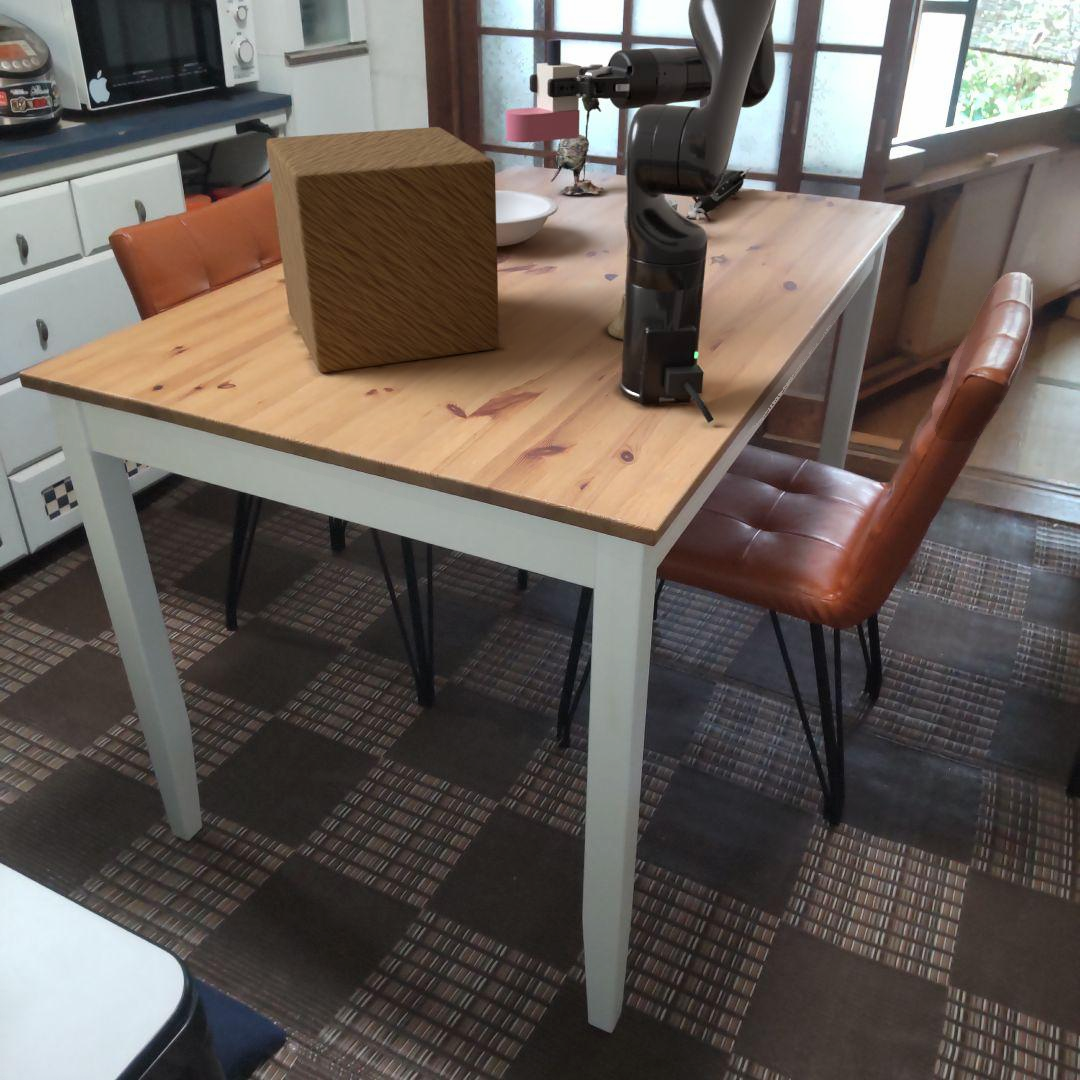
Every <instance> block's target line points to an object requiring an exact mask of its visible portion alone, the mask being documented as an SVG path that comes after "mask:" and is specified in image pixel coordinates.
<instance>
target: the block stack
mask: <svg viewBox="0 0 1080 1080" xmlns="http://www.w3.org/2000/svg"><path fill="white" fill-rule="evenodd" d="M579 66H580V64H579V65H578V64H573V63H570V62H564V61H562V39H559V38H550V39H547V40H546V62H542V63H541V62H540V63H536V74H537V93H536V106H533V107H522V108H513V109H507V110H506V111H505V140H507V141H508V142H513V143H537V142H548V141H549V142H550V141H557V140H558V141H560V139H569V138H579V135H580V114H581V113H580V112H581V111H580V109H579V101H580V100H579V99H580V98H578V97H575V93H574V96H566V97H554V98H553V97H549V96H548V93H547V89H548V80H549V79H557V78H571V77H573V78H574V81H575V77H577V76H579Z"/></svg>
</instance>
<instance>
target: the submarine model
mask: <svg viewBox="0 0 1080 1080" xmlns="http://www.w3.org/2000/svg"><path fill="white" fill-rule="evenodd" d="M750 170H751V167H750V168H748V169H746V170H745V171H744V170H740V171H736V170H732V171H729V172H727V174H726V173H725V174H724V177H723V179H722V181H721V183H720V185H719V187H718V188H717V190H716V191H715V192H714V193H713V194H712V195H710V196H708V197H691V198H692V199H693V201H694V203H693V202H692V201H690V202H689V204H688V207H689V209H690V211H688V212H687V216H685V217H686V218H688V219H689V217H692V216H694V215H695V220H696V221H697V220H699V219H700V214H703V215H704V217H705V218H706V219H707V221H708V222H712V221H713V220H712V218H711V216H710V215H709V214H708V213H709V212H711V211H712V212H713V210H715V209H717V208H718V207H721V205H722V204H724V203H725V202H726V201H728V200H729V199H730V198H731V197H734V198H735V200H737V199H738V197H737V194H736V193H738V192H739V191H740V190H741V189H742V187H743V185H744V182H745V180H744V179H745V178H746V174H747V173H748V172H749V171H750Z"/></svg>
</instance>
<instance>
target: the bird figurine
mask: <svg viewBox="0 0 1080 1080" xmlns="http://www.w3.org/2000/svg"><path fill="white" fill-rule="evenodd" d="M581 102H582V105H583V107H584V110H585V111H586V124H585V135H582V134H579V138H569V139H559V142H558V145H557V146H558V147H557V150H556V155H555V161H556V165H557V166H558V168H557V169H556V171H555V173H554V174H553V176H552V177H551V178H550V183H553V182H554V180H556V178H557V177H558V175H559V174H560V172H561V171H562V169H565V170H569V171H571V172H572V173H573V180H574V184H573V185H568V186H566V187H565V188H564V189H563V191H562V192H561V194H562V195H568V196H569V195H570V196H571V195H582V194H584V193H585V194H589V193H590V194H594V195H598V194H599V193H600V192H601V191H603V190H604V187H602V186H601V187H599V186H597V185H596V184H594V183H592V180H591V179H585V176H586V162H587V161H586V160H587V159H586V158H587V157H588V152H589V148H590V142H589V138H588V129H589V120H590V112H592V111H593V110H594V111H595V110H598V112H600V113H601V112H602V109H601V107H600V101H599V98H598V99H588V98H585V97H581ZM582 170H583V179H580V177H581V172H582Z"/></svg>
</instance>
